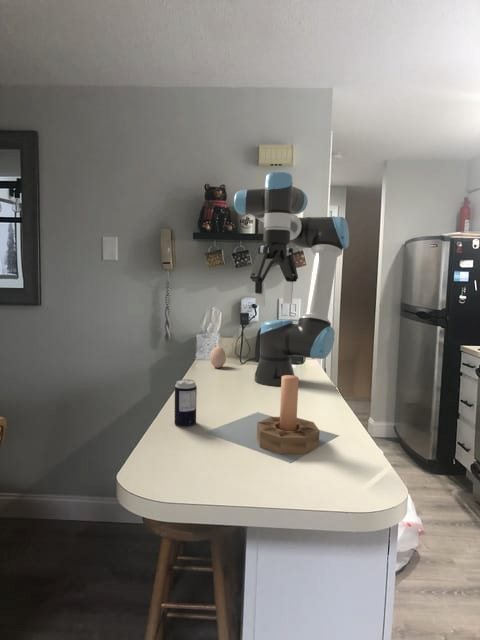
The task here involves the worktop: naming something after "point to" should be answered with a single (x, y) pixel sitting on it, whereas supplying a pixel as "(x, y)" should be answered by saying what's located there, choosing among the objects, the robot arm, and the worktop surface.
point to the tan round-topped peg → (288, 403)
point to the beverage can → (185, 403)
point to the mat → (246, 435)
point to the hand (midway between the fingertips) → (274, 304)
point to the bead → (287, 437)
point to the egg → (218, 357)
